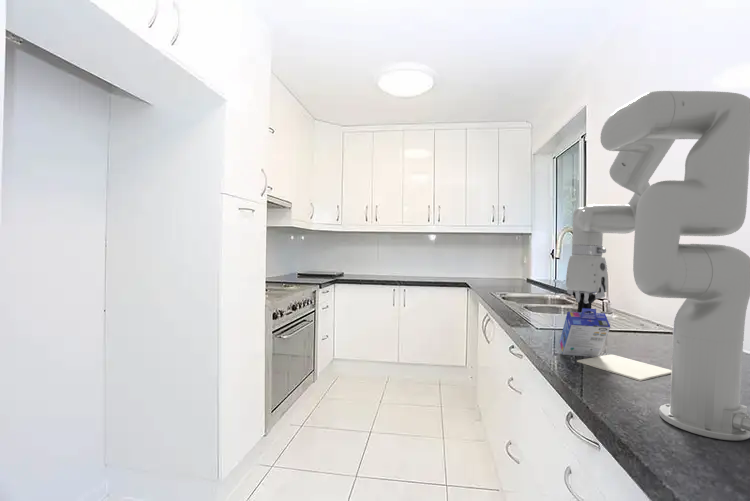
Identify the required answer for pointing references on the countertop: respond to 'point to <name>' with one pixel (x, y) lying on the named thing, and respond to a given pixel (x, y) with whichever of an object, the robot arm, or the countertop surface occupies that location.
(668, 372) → the cream mat
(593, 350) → the ink cartridge box
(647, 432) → the countertop surface
